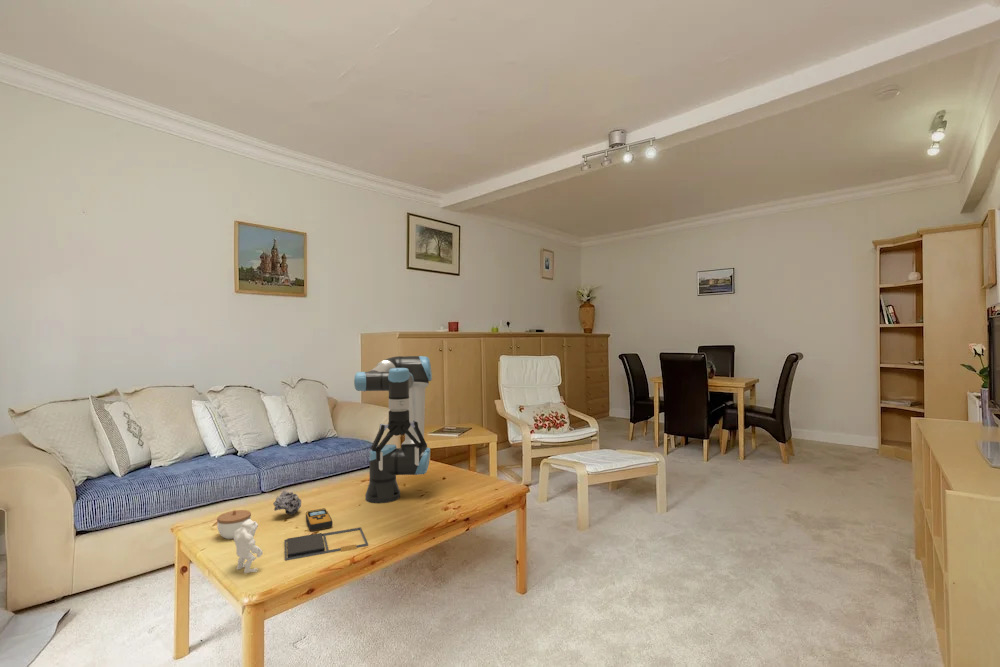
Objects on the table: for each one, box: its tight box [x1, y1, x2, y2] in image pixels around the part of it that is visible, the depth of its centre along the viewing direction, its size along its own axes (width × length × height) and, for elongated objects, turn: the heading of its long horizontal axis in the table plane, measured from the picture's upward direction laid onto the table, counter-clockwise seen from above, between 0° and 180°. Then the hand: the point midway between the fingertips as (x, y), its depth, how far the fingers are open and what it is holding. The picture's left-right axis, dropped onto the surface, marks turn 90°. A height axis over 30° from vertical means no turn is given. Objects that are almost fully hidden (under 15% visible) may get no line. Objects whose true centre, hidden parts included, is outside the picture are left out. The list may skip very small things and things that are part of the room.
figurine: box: [233, 519, 263, 574], centre depth 147 cm, size 11×7×15 cm, turn 56°
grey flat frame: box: [284, 527, 369, 562], centre depth 165 cm, size 17×26×2 cm, turn 115°
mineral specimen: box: [273, 490, 302, 516], centre depth 192 cm, size 12×9×10 cm
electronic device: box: [305, 508, 333, 532], centre depth 184 cm, size 8×16×3 cm, turn 28°
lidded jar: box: [216, 509, 252, 540], centre depth 173 cm, size 11×11×9 cm
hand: (399, 467), depth 177 cm, fingers open, 13 cm apart
